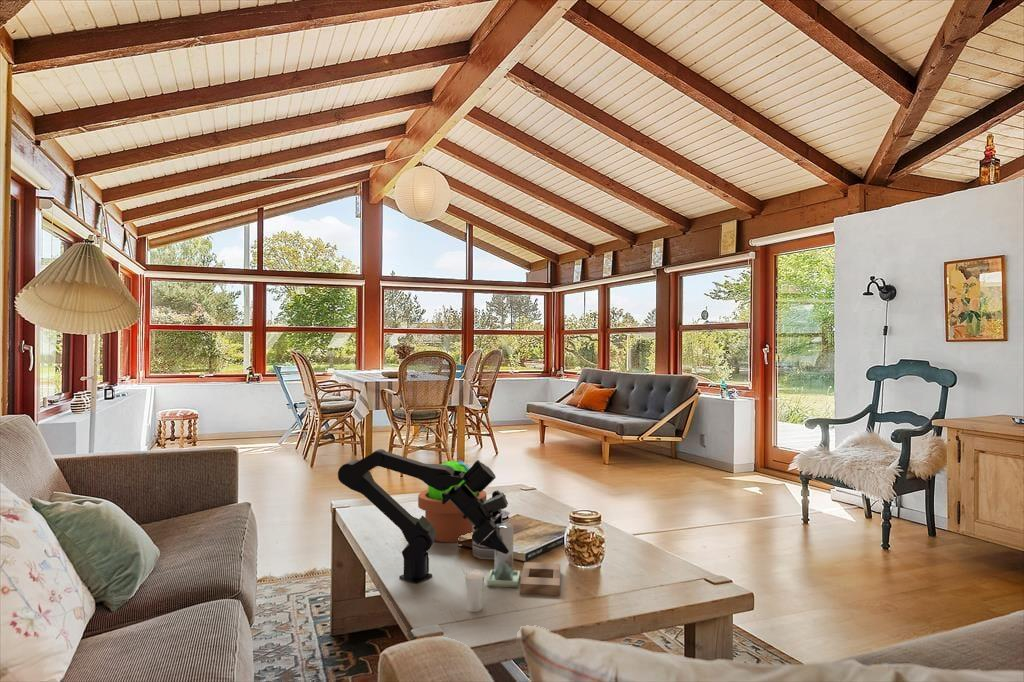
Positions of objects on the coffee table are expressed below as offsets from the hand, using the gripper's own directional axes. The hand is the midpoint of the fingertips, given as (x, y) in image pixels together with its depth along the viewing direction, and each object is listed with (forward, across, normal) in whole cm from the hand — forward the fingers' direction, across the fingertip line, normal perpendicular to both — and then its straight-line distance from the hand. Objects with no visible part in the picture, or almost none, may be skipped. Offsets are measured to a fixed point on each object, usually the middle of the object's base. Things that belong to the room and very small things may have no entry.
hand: (509, 547), depth 168 cm
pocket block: (+12, 0, 0) cm, 12 cm away
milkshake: (+2, -19, +12) cm, 22 cm away
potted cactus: (-9, +39, +22) cm, 46 cm away
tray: (+5, 0, +7) cm, 9 cm away
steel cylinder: (+5, 0, +7) cm, 9 cm away
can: (+1, +22, +12) cm, 25 cm away
